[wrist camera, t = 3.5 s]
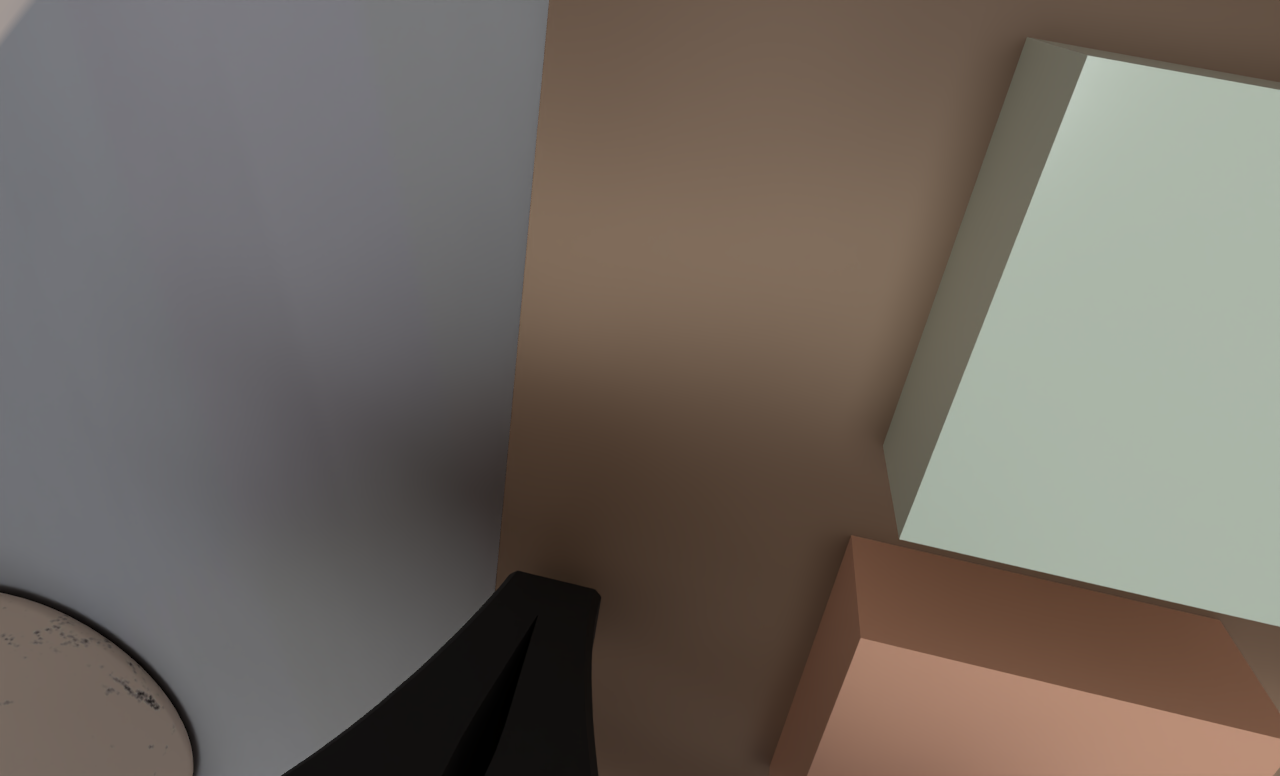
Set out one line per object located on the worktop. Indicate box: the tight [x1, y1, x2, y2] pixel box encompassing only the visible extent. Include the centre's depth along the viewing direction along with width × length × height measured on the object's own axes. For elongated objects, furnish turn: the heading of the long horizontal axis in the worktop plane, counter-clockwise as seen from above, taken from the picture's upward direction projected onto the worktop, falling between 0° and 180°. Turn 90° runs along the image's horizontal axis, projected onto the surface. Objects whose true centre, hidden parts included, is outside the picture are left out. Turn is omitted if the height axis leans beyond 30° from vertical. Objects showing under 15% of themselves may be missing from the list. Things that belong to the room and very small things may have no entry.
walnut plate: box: [495, 0, 1280, 776], centre depth 13 cm, size 16×15×3 cm
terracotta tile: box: [769, 535, 1280, 776], centre depth 12 cm, size 5×5×2 cm
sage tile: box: [883, 37, 1280, 627], centre depth 8 cm, size 5×5×2 cm
